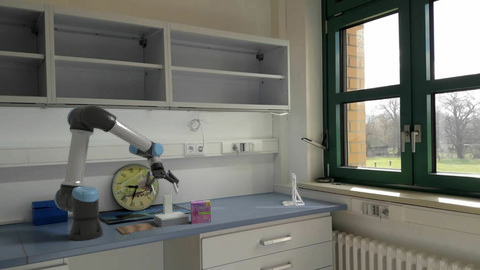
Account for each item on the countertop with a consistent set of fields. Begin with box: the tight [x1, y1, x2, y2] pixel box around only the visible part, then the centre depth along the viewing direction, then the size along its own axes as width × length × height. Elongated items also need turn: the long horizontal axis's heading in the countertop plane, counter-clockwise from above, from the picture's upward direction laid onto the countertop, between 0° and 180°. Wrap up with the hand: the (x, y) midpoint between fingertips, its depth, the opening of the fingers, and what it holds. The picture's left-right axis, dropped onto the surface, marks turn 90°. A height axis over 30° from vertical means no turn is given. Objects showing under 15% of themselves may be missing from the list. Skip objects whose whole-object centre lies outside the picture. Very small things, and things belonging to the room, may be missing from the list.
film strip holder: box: [282, 172, 306, 207], centre depth 254 cm, size 14×14×20 cm
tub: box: [153, 215, 190, 228], centre depth 205 cm, size 15×12×4 cm
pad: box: [115, 222, 158, 235], centre depth 195 cm, size 17×14×1 cm
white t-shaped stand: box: [153, 194, 189, 220], centre depth 205 cm, size 15×12×11 cm
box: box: [190, 199, 212, 225], centre depth 205 cm, size 10×6×12 cm, turn 105°
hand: (166, 194), depth 214 cm, fingers open, 13 cm apart
